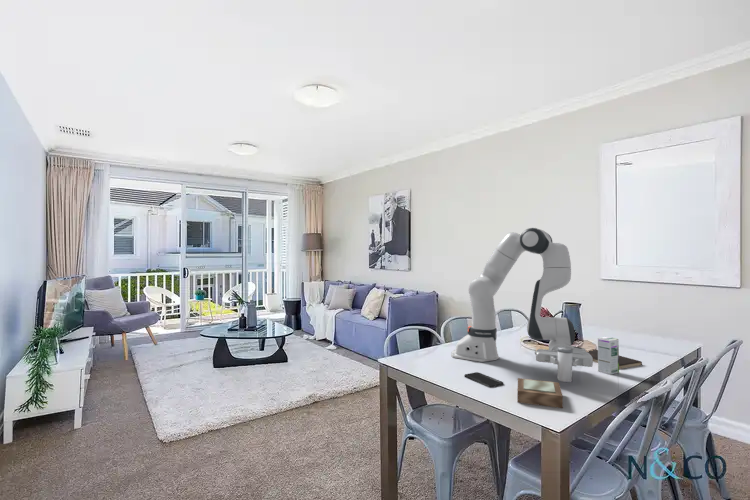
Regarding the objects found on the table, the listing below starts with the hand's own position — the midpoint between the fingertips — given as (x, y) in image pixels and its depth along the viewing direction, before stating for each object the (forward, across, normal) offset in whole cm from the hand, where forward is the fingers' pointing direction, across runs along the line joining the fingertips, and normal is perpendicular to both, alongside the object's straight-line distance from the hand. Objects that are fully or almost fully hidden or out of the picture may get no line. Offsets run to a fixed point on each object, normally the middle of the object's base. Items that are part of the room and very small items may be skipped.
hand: (565, 363), depth 149 cm
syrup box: (-28, +19, +9) cm, 35 cm away
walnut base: (+14, -10, +9) cm, 20 cm away
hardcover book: (-48, +22, +10) cm, 54 cm away
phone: (+2, -30, +10) cm, 31 cm away
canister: (-1, 0, +7) cm, 7 cm away
